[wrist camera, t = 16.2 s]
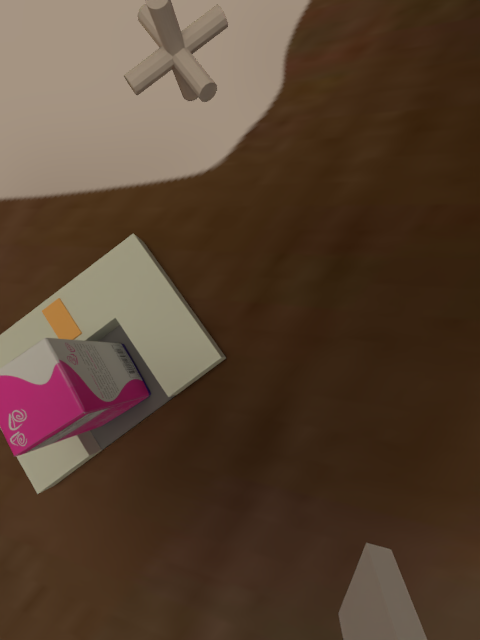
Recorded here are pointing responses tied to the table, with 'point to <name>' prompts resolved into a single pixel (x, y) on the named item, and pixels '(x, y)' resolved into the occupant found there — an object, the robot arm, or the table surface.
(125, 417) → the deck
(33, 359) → the supplement box
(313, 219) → the table surface
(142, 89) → the pipe connector
